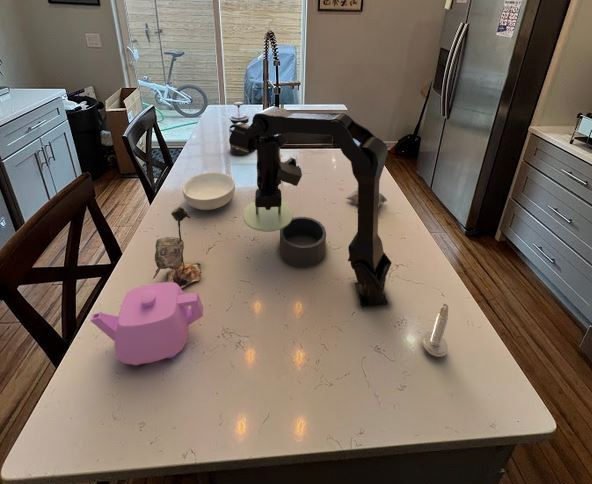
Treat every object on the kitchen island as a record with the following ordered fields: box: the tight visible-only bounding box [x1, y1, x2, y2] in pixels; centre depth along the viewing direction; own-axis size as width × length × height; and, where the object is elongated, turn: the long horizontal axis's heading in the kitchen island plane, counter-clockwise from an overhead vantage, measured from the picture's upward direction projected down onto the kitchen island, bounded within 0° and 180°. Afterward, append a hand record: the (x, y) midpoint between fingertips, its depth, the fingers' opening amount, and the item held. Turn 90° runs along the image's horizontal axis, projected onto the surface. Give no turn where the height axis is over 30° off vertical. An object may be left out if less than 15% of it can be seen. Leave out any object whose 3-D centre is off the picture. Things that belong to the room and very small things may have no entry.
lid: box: [242, 200, 294, 233], centre depth 88 cm, size 14×14×5 cm
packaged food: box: [344, 187, 388, 208], centre depth 113 cm, size 9×12×5 cm
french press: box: [227, 101, 251, 157], centre depth 143 cm, size 12×9×23 cm
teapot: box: [89, 281, 204, 366], centre depth 66 cm, size 20×12×13 cm, turn 104°
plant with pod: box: [152, 206, 202, 289], centre depth 79 cm, size 8×11×20 cm
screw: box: [421, 303, 449, 358], centre depth 65 cm, size 13×5×5 cm
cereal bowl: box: [182, 171, 236, 211], centre depth 111 cm, size 17×17×7 cm
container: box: [279, 216, 327, 268], centre depth 92 cm, size 13×13×6 cm
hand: (268, 208), depth 88 cm, fingers closed on lid
